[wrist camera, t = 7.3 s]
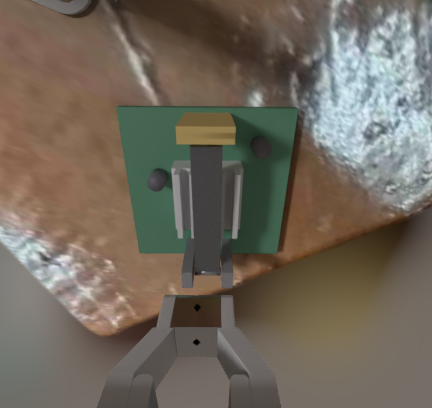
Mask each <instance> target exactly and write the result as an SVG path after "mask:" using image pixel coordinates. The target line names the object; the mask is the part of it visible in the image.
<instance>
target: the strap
mask: <svg viewBox="0 0 432 408" xmlns="http://www.w3.org/2000/svg"><path fill="white" fill-rule="evenodd" d="M222 158H223V145H204V144H190V163H191V185H192V208H193V230H194V253H195V275H221V267H220V245H221V201H222Z"/></svg>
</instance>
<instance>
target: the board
mask: <svg viewBox="0 0 432 408" xmlns="http://www.w3.org/2000/svg"><path fill="white" fill-rule="evenodd" d="M116 108H117V115H118V121H119V127H120V133H121V140H122V146H123V152H124V158H125V165H126V171H127V177H128V183H129V190H130V196H131V202H132V208H133V214H134V221H135V227H136V233H137V239H138V246H139V252H140V253H185V255H184V261H183V267H182V286H183V288H193V279H194V268H195V253H194V230H193V208H192V185H191V163H190V144H204V145H223V158H222V201H221V245H220V253H221V266H222V288H232V284H233V267H232V256H231V253H253V254H277V250H278V244H279V237H280V230H281V223H282V217H283V210H284V203H285V196H286V190H287V183H288V176H289V169H290V162H291V156H292V149H293V142H294V135H295V129H296V122H297V115H298V108H296V107H207V106H118V107H116Z"/></svg>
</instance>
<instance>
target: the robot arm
mask: <svg viewBox="0 0 432 408" xmlns="http://www.w3.org/2000/svg"><path fill="white" fill-rule="evenodd" d="M186 356H206V357H207V356H208V357H217V358H218V360H219V362H220V364H221V365H222V367H223V369H224V371H225V373H226V375H227V376H228V378H229V380H230V390H229V406H228V408H281V404H280V400H279V395H278V389H277V384H276V379H275V374H274V373H273V371H272V370H271V369H270V367H269V366H268V365H267V364H266V362H265V361H264V360H263V359H262V357H261V356H260V355H259V353H258V352H257V351H256V350H255V348H254V347H253V346H252V344H251V343H250V342H249V341H248V340H247V338H246V337H245V336H244V334H243V333H242V332H241V330H240V329H239V328H235V319H234V306H233V297H232V295H199V296H193V295H165V296H164V298H163V302H162V306H161V310H160V315H159V319H158V323H157V328H152V329H151V330H150V331H149V332H148V334H147V335H145V337H144V338H143V339H142V340H141V341H140V342H139V343H138V344H137V345H136V346H135V347H134V348H133V349H132V350H131V351H130V352H129V353H128V354H127V355H126V356H125V357H124V358H123V359H122V360H121V361H120V362H119V364H118V365H116V367H115V368H114V369H113V370H112V371H111V372H110V373H109V375H108V378H107V381H106V383H105V386H104V389H103V392H102V395H101V397H100V400H99V403H98V406H97V408H158V403H157V397H156V392H155V390H156V388H157V387H158V385H159V384H160V382H161V381H162V379H163V378H164V376H165V375H166V374H167V372H168V371H169V369H170V368H171V366H172V365H173V363H174V362H175V360H176V359H177V357H186Z"/></svg>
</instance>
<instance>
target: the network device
mask: <svg viewBox="0 0 432 408" xmlns="http://www.w3.org/2000/svg"><path fill="white" fill-rule="evenodd" d="M32 1H34V2H37V3H39V4H41V5H43V6H46V7H48V8H50V9H52V10H55V11H57V12H60V13H63V14H66V15H76V14H80V13H81V12H83V11H85V10H86V9H87V8H88V6H89V5H90V3H91V1H92V0H73V1H71V2H68V3H67V2H62V1H60V0H32ZM113 1H116V2H118V0H113Z"/></svg>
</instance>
